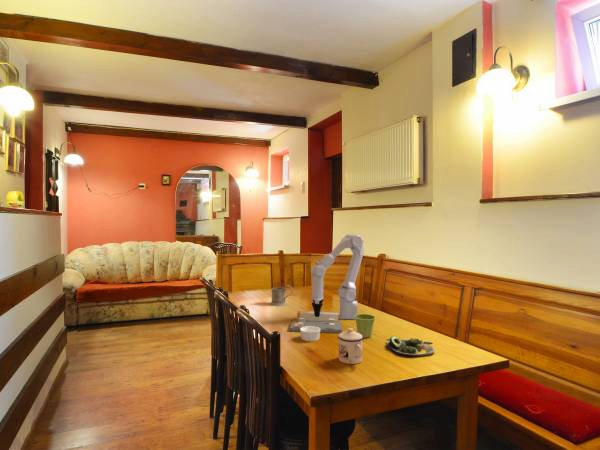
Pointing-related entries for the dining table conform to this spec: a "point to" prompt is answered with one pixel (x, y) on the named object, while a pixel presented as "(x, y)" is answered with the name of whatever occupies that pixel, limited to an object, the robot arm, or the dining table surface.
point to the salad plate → (408, 347)
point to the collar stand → (324, 326)
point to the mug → (279, 296)
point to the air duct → (311, 317)
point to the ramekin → (310, 333)
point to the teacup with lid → (350, 347)
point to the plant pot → (364, 324)
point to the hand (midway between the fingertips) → (317, 314)
